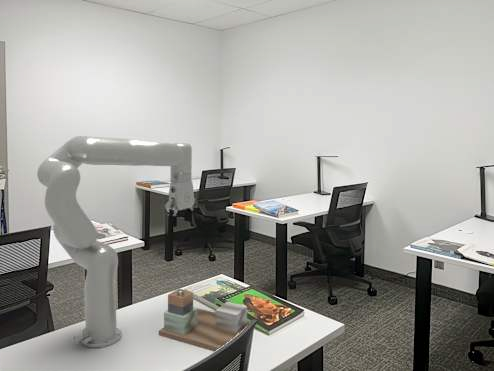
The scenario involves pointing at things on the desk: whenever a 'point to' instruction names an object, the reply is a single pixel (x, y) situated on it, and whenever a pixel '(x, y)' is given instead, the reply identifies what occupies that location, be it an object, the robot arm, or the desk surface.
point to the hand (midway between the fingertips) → (180, 223)
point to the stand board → (206, 325)
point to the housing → (180, 302)
